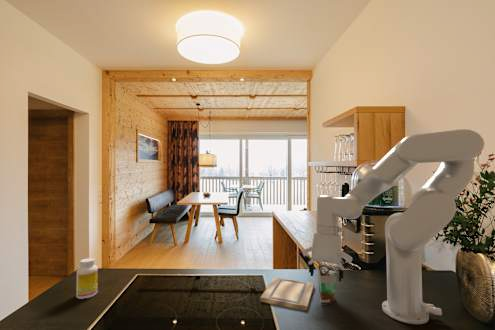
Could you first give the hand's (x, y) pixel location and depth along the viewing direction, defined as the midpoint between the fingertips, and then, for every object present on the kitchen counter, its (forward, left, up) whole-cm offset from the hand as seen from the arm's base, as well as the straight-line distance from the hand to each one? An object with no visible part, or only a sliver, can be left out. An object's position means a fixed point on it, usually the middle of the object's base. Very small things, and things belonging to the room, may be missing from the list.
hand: (325, 277), depth 90 cm
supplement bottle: (+82, +30, -8) cm, 88 cm away
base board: (+13, +2, -7) cm, 15 cm away
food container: (-1, 0, -8) cm, 8 cm away
